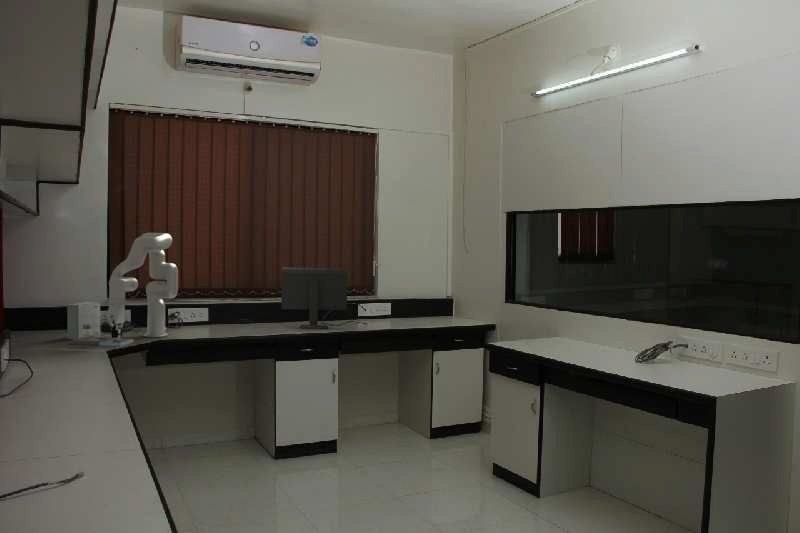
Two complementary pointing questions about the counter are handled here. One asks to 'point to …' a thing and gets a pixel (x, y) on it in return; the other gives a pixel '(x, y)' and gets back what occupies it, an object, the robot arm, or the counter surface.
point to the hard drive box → (83, 319)
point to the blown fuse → (118, 340)
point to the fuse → (86, 331)
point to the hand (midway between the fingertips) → (116, 336)
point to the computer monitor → (314, 291)
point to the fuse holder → (91, 340)
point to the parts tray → (108, 343)
